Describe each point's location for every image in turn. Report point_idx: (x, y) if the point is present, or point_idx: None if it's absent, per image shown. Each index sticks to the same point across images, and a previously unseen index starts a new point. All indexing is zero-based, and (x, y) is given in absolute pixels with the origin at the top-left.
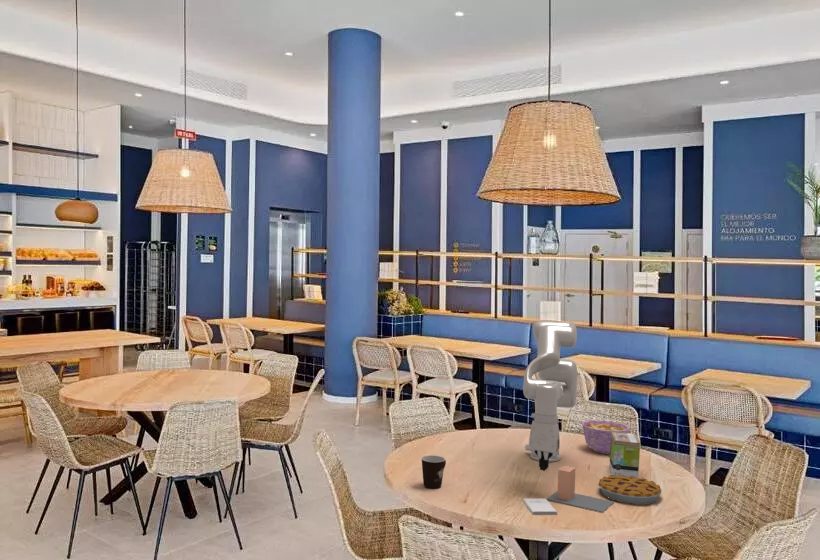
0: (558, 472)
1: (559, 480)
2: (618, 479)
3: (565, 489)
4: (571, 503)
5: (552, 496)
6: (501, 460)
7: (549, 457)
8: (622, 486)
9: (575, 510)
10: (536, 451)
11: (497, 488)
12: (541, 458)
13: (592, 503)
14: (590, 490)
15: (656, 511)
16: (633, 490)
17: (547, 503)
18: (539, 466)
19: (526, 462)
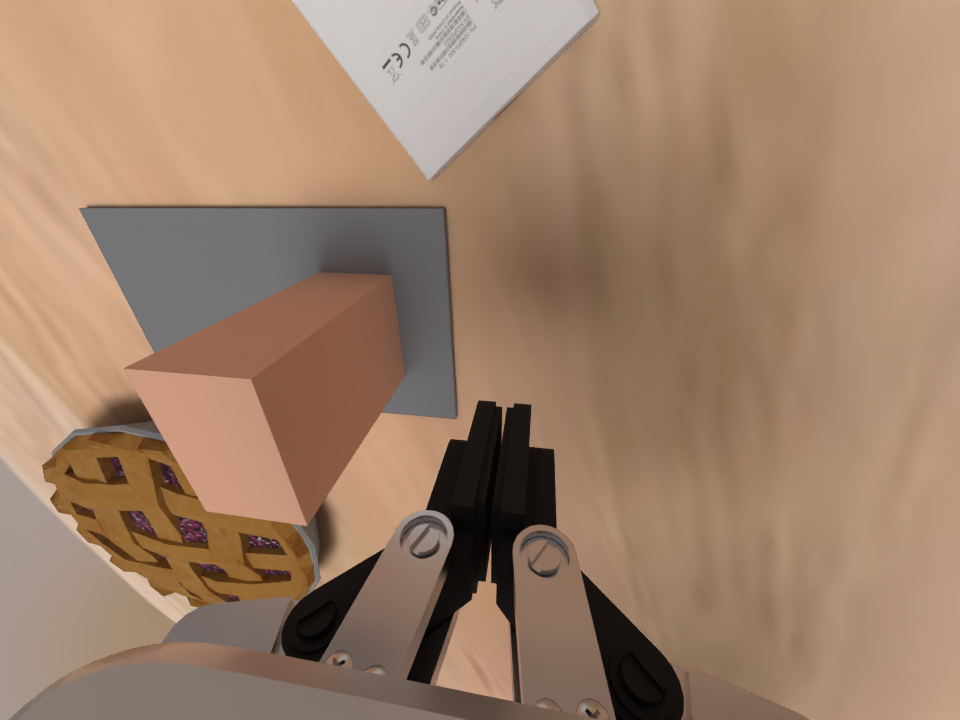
0: (273, 361)
1: (311, 323)
2: (220, 563)
3: (297, 295)
4: (275, 231)
5: (430, 286)
6: (878, 670)
7: (366, 563)
8: (150, 499)
9: (194, 127)
10: (636, 689)
11: (913, 219)
12: (516, 541)
13: (209, 312)
14: (346, 486)
15: (30, 387)
16: (101, 481)
17: (358, 45)
18: (548, 449)
19: (732, 670)
